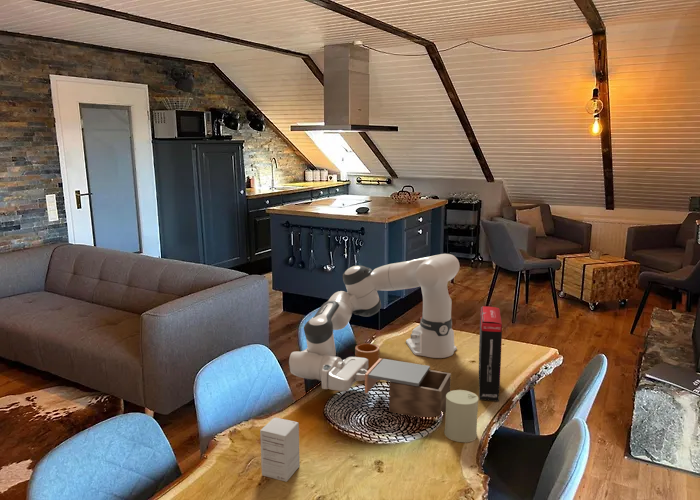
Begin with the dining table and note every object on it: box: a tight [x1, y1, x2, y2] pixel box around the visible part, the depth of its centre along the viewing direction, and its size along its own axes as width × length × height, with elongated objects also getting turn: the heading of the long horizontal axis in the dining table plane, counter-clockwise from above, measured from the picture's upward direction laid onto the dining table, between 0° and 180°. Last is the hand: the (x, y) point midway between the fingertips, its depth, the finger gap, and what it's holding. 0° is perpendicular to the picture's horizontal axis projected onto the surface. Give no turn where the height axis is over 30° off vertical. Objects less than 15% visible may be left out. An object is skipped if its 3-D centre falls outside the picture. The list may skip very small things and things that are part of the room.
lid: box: [364, 357, 431, 394], centre depth 174 cm, size 17×14×6 cm
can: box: [443, 389, 480, 443], centre depth 156 cm, size 9×9×12 cm
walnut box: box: [388, 369, 452, 417], centre depth 172 cm, size 16×14×10 cm
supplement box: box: [259, 417, 301, 482], centre depth 138 cm, size 7×7×13 cm
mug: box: [354, 342, 380, 371], centre depth 201 cm, size 9×12×9 cm
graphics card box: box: [478, 305, 503, 402], centre depth 182 cm, size 17×7×27 cm, turn 168°
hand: (371, 376), depth 177 cm, fingers closed, pressing on lid
